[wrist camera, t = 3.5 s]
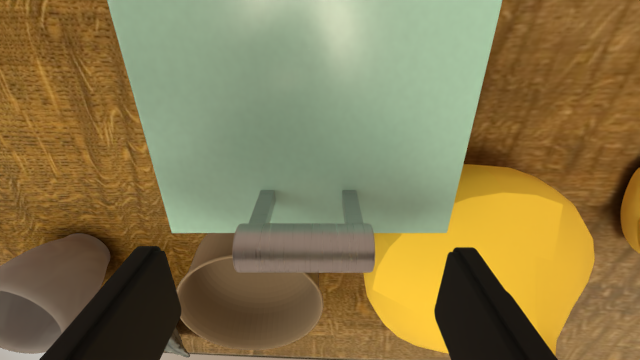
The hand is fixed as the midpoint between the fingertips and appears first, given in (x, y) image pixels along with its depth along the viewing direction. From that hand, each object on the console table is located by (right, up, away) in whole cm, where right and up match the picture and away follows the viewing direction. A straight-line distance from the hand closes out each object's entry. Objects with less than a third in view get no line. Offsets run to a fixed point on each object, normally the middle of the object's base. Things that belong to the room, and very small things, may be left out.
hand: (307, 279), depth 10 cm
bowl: (-6, -3, +24) cm, 25 cm away
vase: (+13, -1, +23) cm, 27 cm away
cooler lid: (0, +6, +4) cm, 7 cm away
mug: (-29, -5, +25) cm, 38 cm away
